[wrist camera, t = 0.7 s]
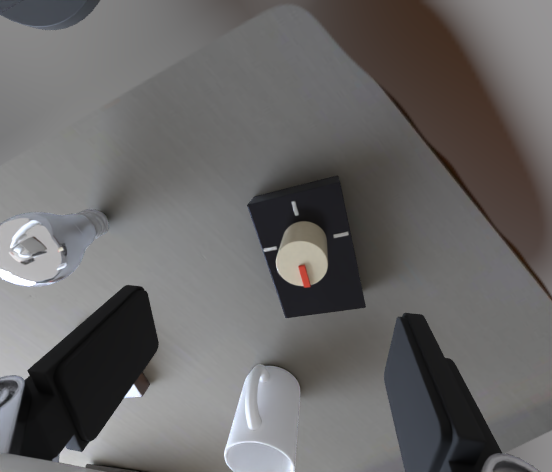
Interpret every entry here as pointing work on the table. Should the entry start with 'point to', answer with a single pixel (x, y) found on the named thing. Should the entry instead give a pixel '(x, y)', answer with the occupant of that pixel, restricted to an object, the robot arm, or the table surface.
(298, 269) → the hob knob
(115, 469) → the radio
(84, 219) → the light bulb
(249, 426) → the mug
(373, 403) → the table surface
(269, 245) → the hob panel
